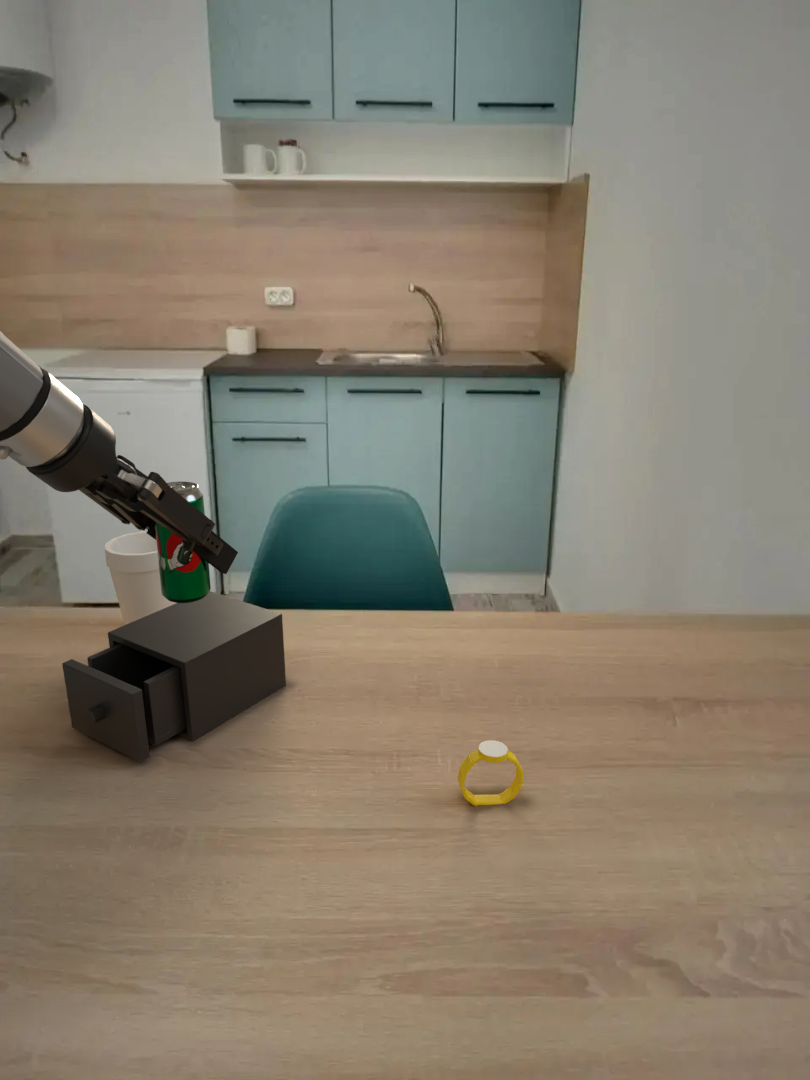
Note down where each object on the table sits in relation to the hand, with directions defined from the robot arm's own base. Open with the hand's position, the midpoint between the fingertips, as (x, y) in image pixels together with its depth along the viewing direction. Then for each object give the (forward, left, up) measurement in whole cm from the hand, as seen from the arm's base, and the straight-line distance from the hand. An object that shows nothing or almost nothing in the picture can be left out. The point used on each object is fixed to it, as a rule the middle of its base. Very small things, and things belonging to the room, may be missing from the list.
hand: (210, 556), depth 90 cm
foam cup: (-22, +7, -18) cm, 29 cm away
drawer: (-3, -8, -17) cm, 19 cm away
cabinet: (-3, -1, -18) cm, 18 cm away
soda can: (0, -4, -3) cm, 5 cm away
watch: (+34, +1, -18) cm, 39 cm away
